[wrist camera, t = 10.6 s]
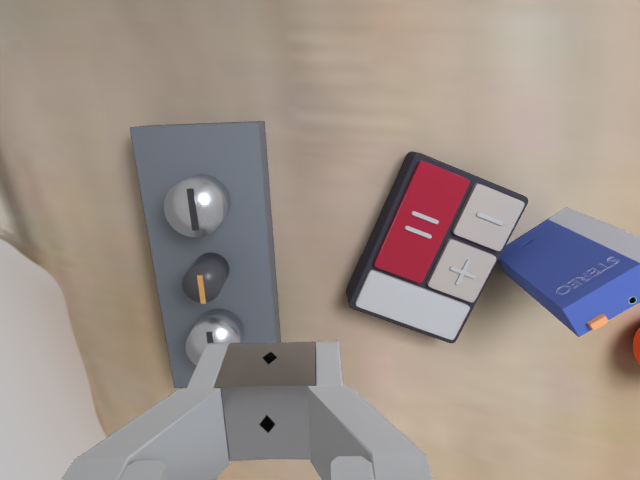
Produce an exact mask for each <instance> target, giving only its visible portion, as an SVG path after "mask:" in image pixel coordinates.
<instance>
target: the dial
mask: <svg viewBox="0 0 640 480" xmlns="http://www.w3.org/2000/svg"><path fill="white" fill-rule="evenodd" d="M228 275H229V265H228V262H227V261H226V259H225V258H224V257H222V256H221V255H219V254H216V253H205V254H203V255H201V256H200V257H199V258H198V259H197V260H196V261H195V263H194V264H193V265H192V267H191V268H190V269H189V270H188V272H187V273H186V274H185V276H184V277H183V281H182V287H183V290H184V292H185V294H186V295H187V296H188V297H189V298H190V299H191V300H193V301H196V302H199V303H201V304H206V303H207V302H210V301H212V300H214V299H215V298H216V297H217V296H218V295H219V293H220V291H221V289H222V287H223V285H224V283H225V281H226V279H227V277H228Z"/></svg>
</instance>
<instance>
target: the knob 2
mask: <svg viewBox="0 0 640 480" xmlns="http://www.w3.org/2000/svg"><path fill="white" fill-rule="evenodd" d="M243 336H244V327H243V324H242V322H241V320H240V319H239V318H238V316H236V315H235V314H234V313H233V312H231V311H228V310H225V309H211V310H208V311H206V312H204V313H203V314H202V315H201V316H200V317H199V318H198V320H197V322H196V323H195V325H194V327H193V329H192V331H191V332H190V334H189V336H188V338H187V340H186V346H185V347H186V353H187V355H188V357H189V359H190V360H191V361H192V362H193V363H194V364H195V365H196V366H197V364H198V361H199V359H200V357H201V355H202V353H203V350H204V348H205V346H206V345H207V344H209V343H226V342H229V343H241V342H242V339H243Z"/></svg>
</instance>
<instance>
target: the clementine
mask: <svg viewBox="0 0 640 480" xmlns="http://www.w3.org/2000/svg"><path fill="white" fill-rule="evenodd" d="M633 353H634V356H635V358H636V361H637V362H638V364H639V366H640V328H639V329H638V330H637V331H636V333H635V336H634V339H633Z"/></svg>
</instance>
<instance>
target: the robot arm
mask: <svg viewBox="0 0 640 480" xmlns="http://www.w3.org/2000/svg"><path fill="white" fill-rule="evenodd" d="M262 459H311V463H312V464H313V466H314V468H315V469H316V471H317V472H318V474H319V476H320V477H321V479H322V480H433V478H432V474H431V471H430V468H429V464H428V461H427V458H426V454H425V453H424V452H423V451H422V450H421V449H420V448H419V447H418V446H416V445H415V444H414V443H413V442H412V441H411V440H410V439H409V438H407V437H406V436H405V435H404V434H403V433H402V432H401V431H400V430H399V429H397V428H396V427H395V426H394V425H393V424H392V423H391V422H390V421H389V420H387V419H386V418H385V417H384V416H383V415H382V414H381V413H380V412H378V411H377V410H376V409H375V408H374V407H373V406H372V405H371V404H370V403H368V402H367V401H366V400H365V399H364V398H363V397H362V396H361V395H359V394H358V393H357V392H356V391H355V390H354V389H353V388H352V387H351V386H349V385H343V383H342V372H341V360H340V349H339V342H338V340H330V341H315V342H292V343H229V342H226V343H209V344H207V345H206V346H205V348H204V350H203V353H202V355H201V357H200V359H199V361H198V364H197V366H196V368H195V370H194V372H193V375H192V377H191V379H190V381H189V384H188V386H187V388H184V389H178V390H177V391H175V392H174V393H172V394H171V395H169V396H168V397H167V398H165V399H164V400H162V401H161V402H159V403H158V404H156V405H155V406H153V407H152V408H150V409H149V410H147V411H146V412H144V413H143V414H141V415H140V416H138V417H137V418H135V419H134V420H132V421H131V422H129V423H128V424H126V425H125V426H123V427H122V428H121V429H119V430H118V431H116V432H115V433H113V434H112V435H110V436H109V437H107V438H106V439H104V440H103V441H101V442H100V443H98V444H97V445H96V446H94V447H92V448H91V449H89V450H88V451H86V452H85V453H83V454H82V455H80V456H79V457H78V458H76V459H75V460H74V461H73V463H72V464H71V466H70V467H69V469H68V470H67V472H66V473H65V475H64V476H63V477H62V479H61V480H216V479H217V477H218V476H219V475H220V474H221V473H222V472H223V470H224V469H225V468H226V467H227V466H228V464H229V461H242V460H262Z"/></svg>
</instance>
